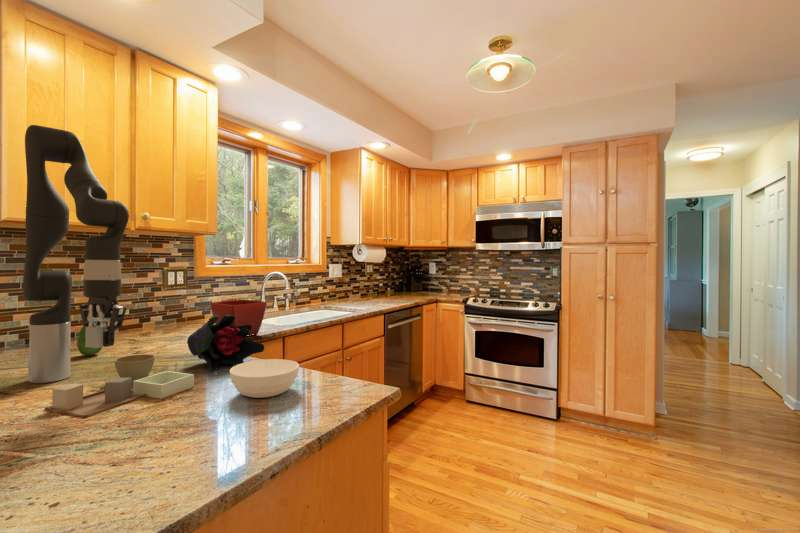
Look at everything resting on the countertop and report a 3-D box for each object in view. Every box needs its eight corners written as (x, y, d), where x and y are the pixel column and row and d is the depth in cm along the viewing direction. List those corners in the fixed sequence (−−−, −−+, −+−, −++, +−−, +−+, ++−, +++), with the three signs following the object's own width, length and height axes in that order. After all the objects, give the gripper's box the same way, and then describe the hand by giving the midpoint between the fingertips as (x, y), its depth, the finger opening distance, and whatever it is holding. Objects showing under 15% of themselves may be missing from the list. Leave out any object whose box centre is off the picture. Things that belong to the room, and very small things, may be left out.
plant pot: (232, 341, 173) (232, 304, 173) (209, 336, 183) (209, 302, 183) (267, 335, 189) (267, 301, 189) (244, 331, 199) (244, 299, 199)
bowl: (312, 388, 110) (312, 363, 110) (265, 409, 93) (265, 380, 93) (264, 379, 117) (265, 356, 117) (214, 398, 101) (214, 371, 101)
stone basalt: (104, 402, 95) (105, 382, 95) (115, 396, 99) (115, 377, 99) (121, 401, 96) (121, 382, 96) (131, 396, 100) (131, 377, 100)
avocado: (73, 356, 143) (73, 324, 143) (99, 352, 149) (99, 322, 149) (80, 359, 138) (80, 326, 138) (106, 355, 145) (106, 324, 145)
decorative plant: (228, 382, 142) (276, 375, 126) (156, 368, 125) (202, 357, 108) (241, 330, 152) (288, 316, 136) (176, 310, 134) (221, 291, 118)
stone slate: (85, 346, 94) (85, 326, 94) (102, 343, 97) (102, 324, 97) (96, 348, 92) (96, 327, 92) (113, 344, 96) (113, 325, 96)
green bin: (133, 395, 101) (133, 381, 101) (166, 384, 111) (166, 370, 111) (161, 400, 98) (161, 385, 98) (193, 388, 108) (193, 374, 108)
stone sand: (52, 409, 90) (52, 388, 90) (69, 403, 94) (69, 383, 94) (66, 410, 89) (66, 389, 89) (83, 404, 93) (83, 384, 93)
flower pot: (133, 388, 108) (134, 363, 108) (105, 385, 110) (105, 360, 110) (162, 377, 117) (162, 355, 117) (135, 375, 119) (136, 353, 119)
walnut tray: (44, 411, 90) (44, 407, 90) (113, 390, 105) (113, 387, 105) (85, 419, 86) (85, 415, 86) (150, 396, 101) (150, 392, 101)
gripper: (66, 277, 94) (66, 345, 94) (107, 279, 90) (106, 350, 90) (98, 276, 101) (98, 340, 101) (137, 278, 97) (137, 344, 97)
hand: (102, 344), depth 96 cm, fingers closed on stone slate, 4 cm apart
